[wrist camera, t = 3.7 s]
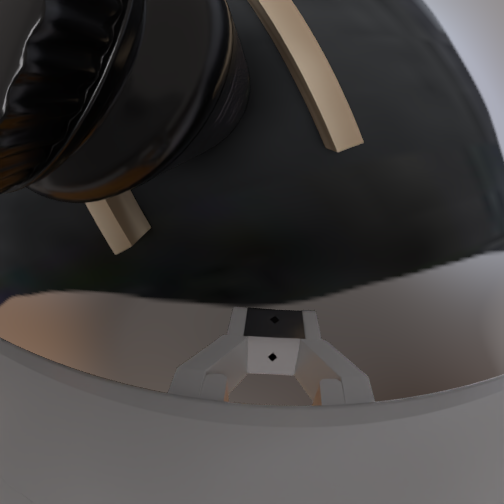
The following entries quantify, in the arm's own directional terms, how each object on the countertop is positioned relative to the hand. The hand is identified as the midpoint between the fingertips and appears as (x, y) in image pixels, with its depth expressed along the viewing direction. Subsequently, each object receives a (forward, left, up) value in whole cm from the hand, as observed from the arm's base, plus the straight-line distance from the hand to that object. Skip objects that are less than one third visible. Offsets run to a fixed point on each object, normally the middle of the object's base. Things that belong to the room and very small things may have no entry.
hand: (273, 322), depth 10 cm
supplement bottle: (0, +10, -6) cm, 11 cm away
